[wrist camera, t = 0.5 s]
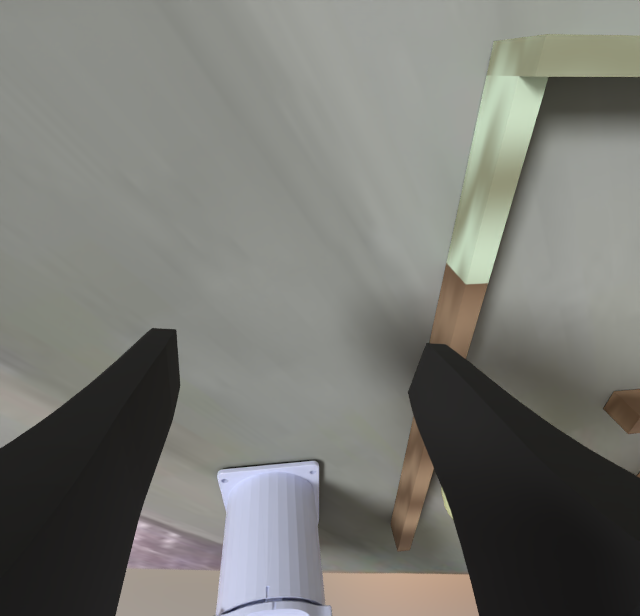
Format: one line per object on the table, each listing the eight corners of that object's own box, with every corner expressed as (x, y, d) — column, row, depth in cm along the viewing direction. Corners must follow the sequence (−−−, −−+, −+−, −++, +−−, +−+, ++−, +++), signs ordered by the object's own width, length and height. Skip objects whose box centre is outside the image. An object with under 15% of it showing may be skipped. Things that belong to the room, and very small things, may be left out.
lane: (628, 497, 39) (657, 531, 36) (390, 524, 37) (400, 563, 34) (1007, 47, 18) (1153, 43, 15) (493, 41, 15) (546, 34, 12)
